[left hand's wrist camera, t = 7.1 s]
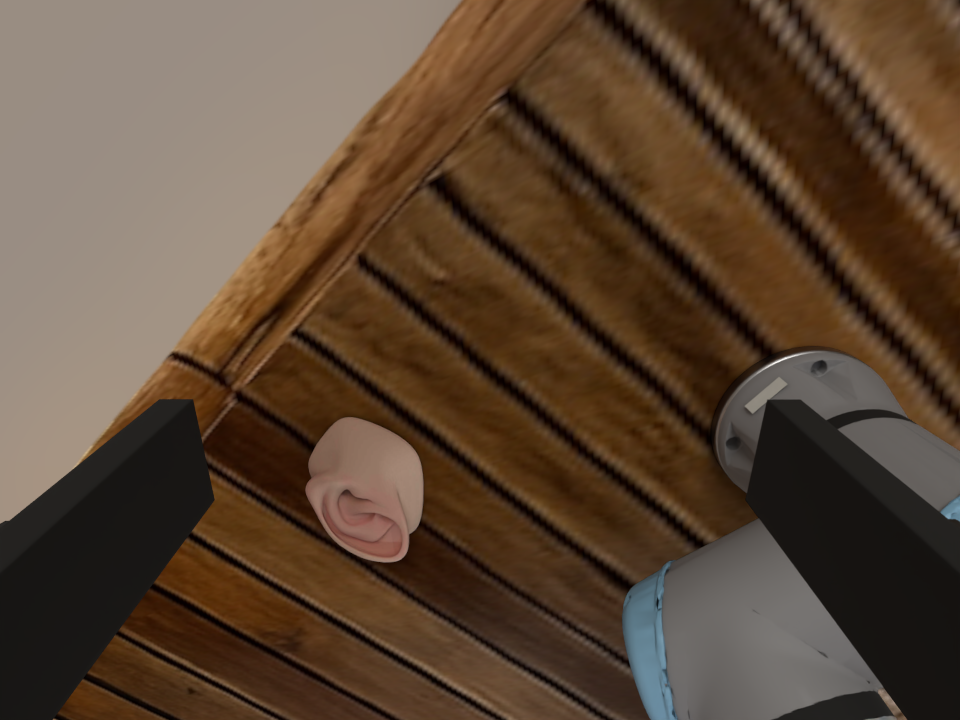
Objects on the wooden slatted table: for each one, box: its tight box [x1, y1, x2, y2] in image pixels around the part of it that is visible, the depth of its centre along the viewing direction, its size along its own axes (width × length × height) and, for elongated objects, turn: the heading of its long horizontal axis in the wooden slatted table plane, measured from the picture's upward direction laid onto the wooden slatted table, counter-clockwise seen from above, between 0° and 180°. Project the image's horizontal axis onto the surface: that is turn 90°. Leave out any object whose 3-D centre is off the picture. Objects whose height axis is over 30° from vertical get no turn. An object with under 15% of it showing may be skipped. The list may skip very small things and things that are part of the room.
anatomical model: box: [306, 417, 423, 562], centre depth 51 cm, size 13×4×12 cm
